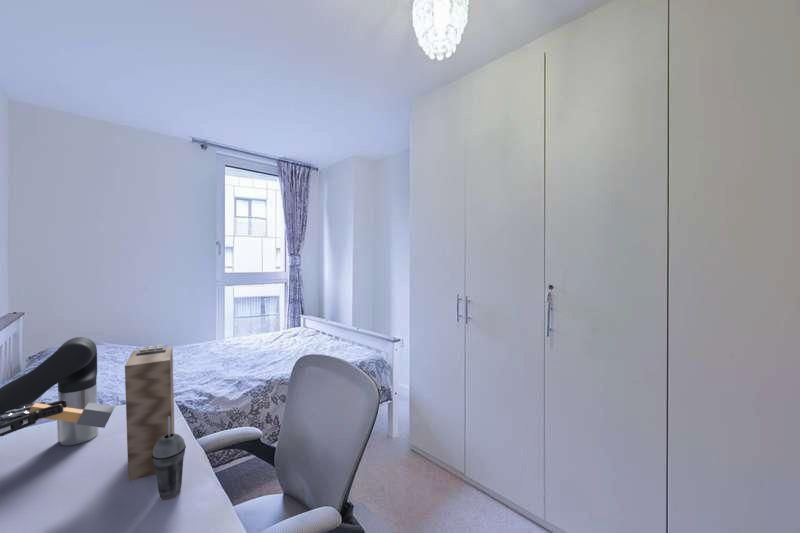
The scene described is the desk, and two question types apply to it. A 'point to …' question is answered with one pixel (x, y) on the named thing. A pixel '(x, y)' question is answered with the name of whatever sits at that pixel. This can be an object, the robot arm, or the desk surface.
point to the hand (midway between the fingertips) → (63, 405)
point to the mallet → (81, 414)
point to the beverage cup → (169, 464)
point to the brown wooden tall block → (148, 405)
